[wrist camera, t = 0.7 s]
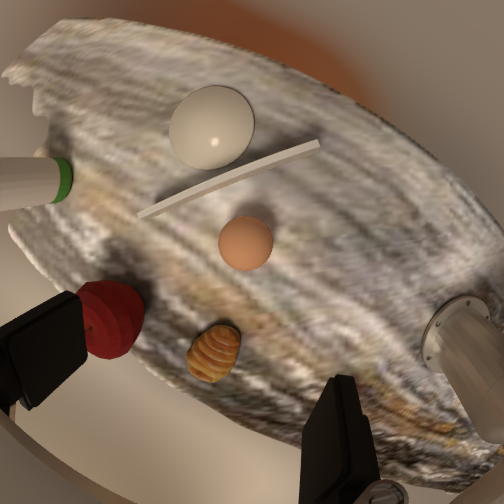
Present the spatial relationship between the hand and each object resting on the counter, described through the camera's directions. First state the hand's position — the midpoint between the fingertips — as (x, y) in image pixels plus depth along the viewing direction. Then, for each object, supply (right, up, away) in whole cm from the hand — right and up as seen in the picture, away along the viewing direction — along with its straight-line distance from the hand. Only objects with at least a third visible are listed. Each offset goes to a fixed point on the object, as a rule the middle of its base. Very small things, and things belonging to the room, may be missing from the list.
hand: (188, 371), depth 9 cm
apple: (-17, -4, +31) cm, 35 cm away
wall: (0, +13, +24) cm, 27 cm away
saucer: (-3, +20, +23) cm, 30 cm away
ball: (+1, +5, +22) cm, 23 cm away
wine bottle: (-31, +16, +29) cm, 46 cm away
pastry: (-3, -10, +30) cm, 32 cm away
